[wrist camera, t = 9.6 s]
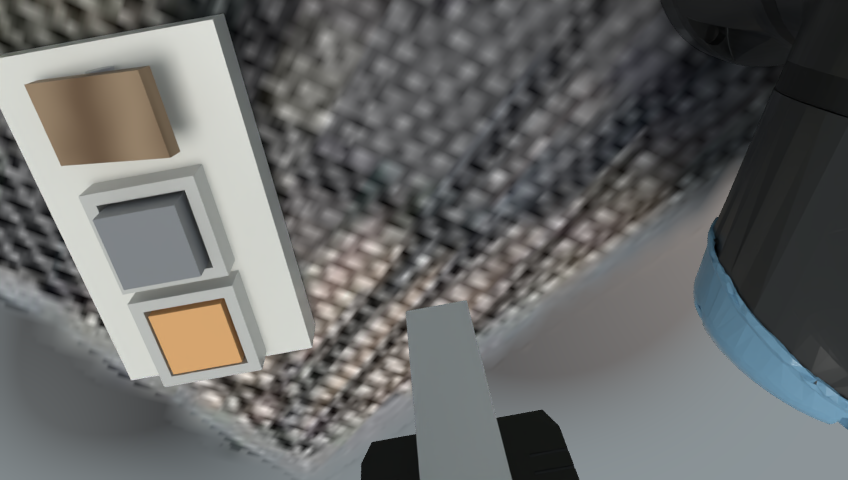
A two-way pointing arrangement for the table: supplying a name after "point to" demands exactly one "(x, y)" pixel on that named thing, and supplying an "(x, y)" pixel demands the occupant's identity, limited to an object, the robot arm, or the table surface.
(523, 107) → the table surface
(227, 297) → the switch housing
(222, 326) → the orange button
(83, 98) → the walnut rocker
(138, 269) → the charcoal button
